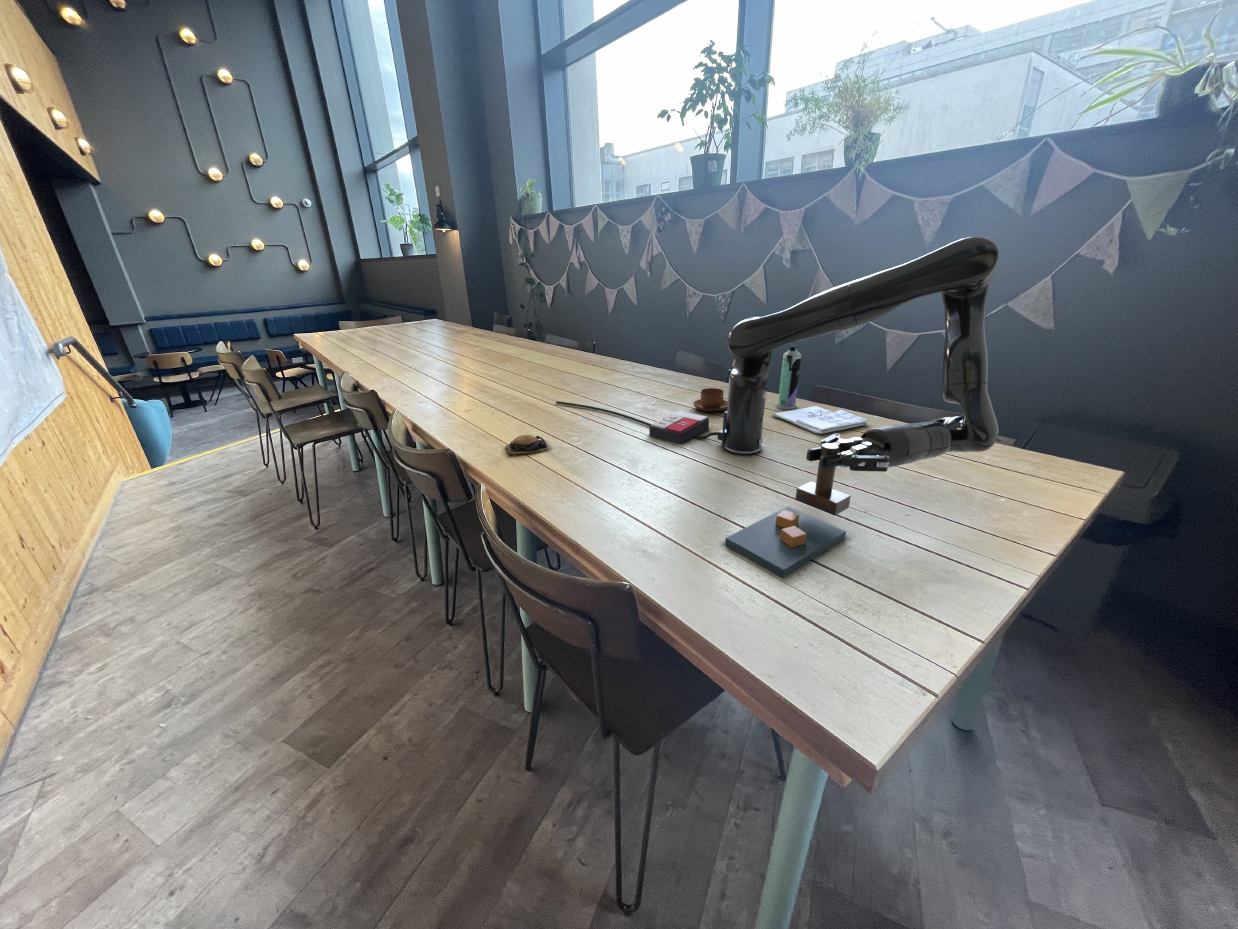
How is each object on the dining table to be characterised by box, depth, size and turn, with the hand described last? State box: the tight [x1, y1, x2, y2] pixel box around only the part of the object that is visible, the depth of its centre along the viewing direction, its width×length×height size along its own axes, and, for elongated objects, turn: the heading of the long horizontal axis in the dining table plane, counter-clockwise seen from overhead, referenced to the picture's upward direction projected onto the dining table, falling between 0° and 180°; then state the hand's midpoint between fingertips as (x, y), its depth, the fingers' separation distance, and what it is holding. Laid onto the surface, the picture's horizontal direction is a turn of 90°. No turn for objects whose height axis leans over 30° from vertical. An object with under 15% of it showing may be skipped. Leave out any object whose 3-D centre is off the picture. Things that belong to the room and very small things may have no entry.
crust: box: [780, 526, 807, 547], centre depth 80 cm, size 3×3×2 cm
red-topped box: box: [648, 410, 710, 444], centre depth 136 cm, size 11×4×15 cm
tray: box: [724, 506, 847, 578], centre depth 83 cm, size 12×18×2 cm, turn 126°
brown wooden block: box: [776, 510, 799, 528], centre depth 85 cm, size 3×3×2 cm
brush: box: [795, 443, 851, 516], centre depth 84 cm, size 8×4×12 cm, turn 36°
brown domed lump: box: [506, 434, 549, 456], centre depth 128 cm, size 11×8×4 cm
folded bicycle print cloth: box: [772, 405, 869, 435], centre depth 142 cm, size 19×20×2 cm
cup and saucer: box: [693, 387, 728, 413], centre depth 156 cm, size 12×12×6 cm
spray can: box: [777, 345, 802, 410], centre depth 153 cm, size 6×6×20 cm
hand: (814, 458), depth 82 cm, fingers closed on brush, 3 cm apart
